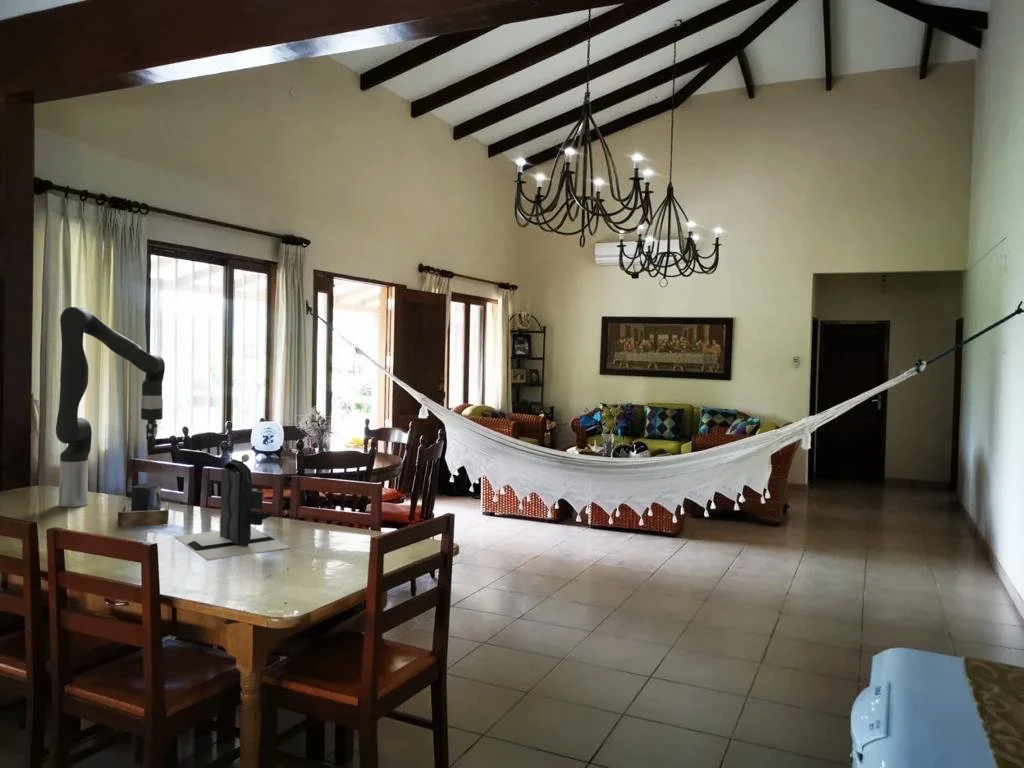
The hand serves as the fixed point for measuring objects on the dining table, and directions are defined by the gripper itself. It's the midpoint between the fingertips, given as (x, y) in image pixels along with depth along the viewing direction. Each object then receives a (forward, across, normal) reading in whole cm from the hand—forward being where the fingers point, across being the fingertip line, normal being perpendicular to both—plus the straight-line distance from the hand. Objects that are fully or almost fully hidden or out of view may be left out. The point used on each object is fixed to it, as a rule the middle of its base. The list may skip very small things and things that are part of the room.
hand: (151, 449), depth 292 cm
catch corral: (+22, +27, 0) cm, 35 cm away
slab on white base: (+22, +64, +28) cm, 74 cm away
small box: (+22, +12, -1) cm, 26 cm away
